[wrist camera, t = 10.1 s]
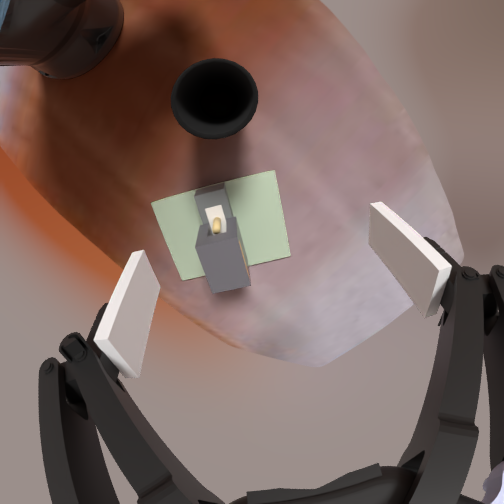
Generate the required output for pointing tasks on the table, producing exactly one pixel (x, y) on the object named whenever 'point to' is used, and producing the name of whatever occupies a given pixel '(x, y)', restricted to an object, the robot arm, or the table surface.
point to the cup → (214, 98)
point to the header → (217, 211)
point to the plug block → (223, 257)
